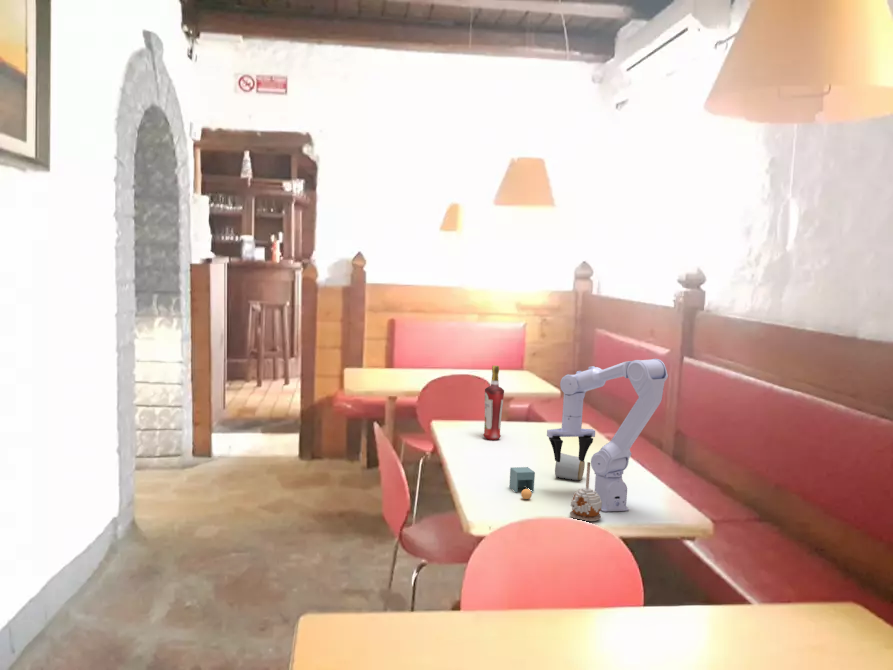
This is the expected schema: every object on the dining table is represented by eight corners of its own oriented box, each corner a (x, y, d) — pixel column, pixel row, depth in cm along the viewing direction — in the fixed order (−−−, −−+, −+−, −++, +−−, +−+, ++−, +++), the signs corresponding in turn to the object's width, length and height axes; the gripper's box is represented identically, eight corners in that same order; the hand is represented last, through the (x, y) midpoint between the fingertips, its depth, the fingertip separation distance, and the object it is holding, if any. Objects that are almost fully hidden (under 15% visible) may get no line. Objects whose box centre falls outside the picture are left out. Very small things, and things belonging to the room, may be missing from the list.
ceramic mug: (579, 483, 231) (581, 459, 230) (553, 479, 234) (555, 455, 233) (586, 475, 241) (588, 452, 240) (561, 472, 244) (562, 448, 243)
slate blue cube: (533, 492, 219) (534, 472, 219) (516, 492, 218) (517, 472, 217) (526, 486, 224) (527, 467, 224) (509, 487, 223) (510, 467, 222)
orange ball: (533, 500, 211) (533, 490, 211) (523, 501, 210) (523, 490, 210) (529, 497, 214) (529, 487, 214) (519, 497, 213) (519, 487, 213)
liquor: (479, 436, 288) (483, 364, 286) (497, 436, 291) (501, 364, 288) (486, 441, 281) (490, 367, 279) (504, 440, 284) (508, 367, 281)
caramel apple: (564, 514, 201) (568, 459, 199) (589, 512, 203) (593, 458, 202) (580, 524, 193) (584, 467, 192) (606, 521, 196) (609, 465, 195)
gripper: (588, 412, 225) (585, 456, 226) (543, 412, 221) (541, 457, 222) (599, 417, 218) (596, 463, 219) (553, 417, 214) (550, 464, 215)
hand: (569, 460), depth 220 cm, fingers open, 7 cm apart
